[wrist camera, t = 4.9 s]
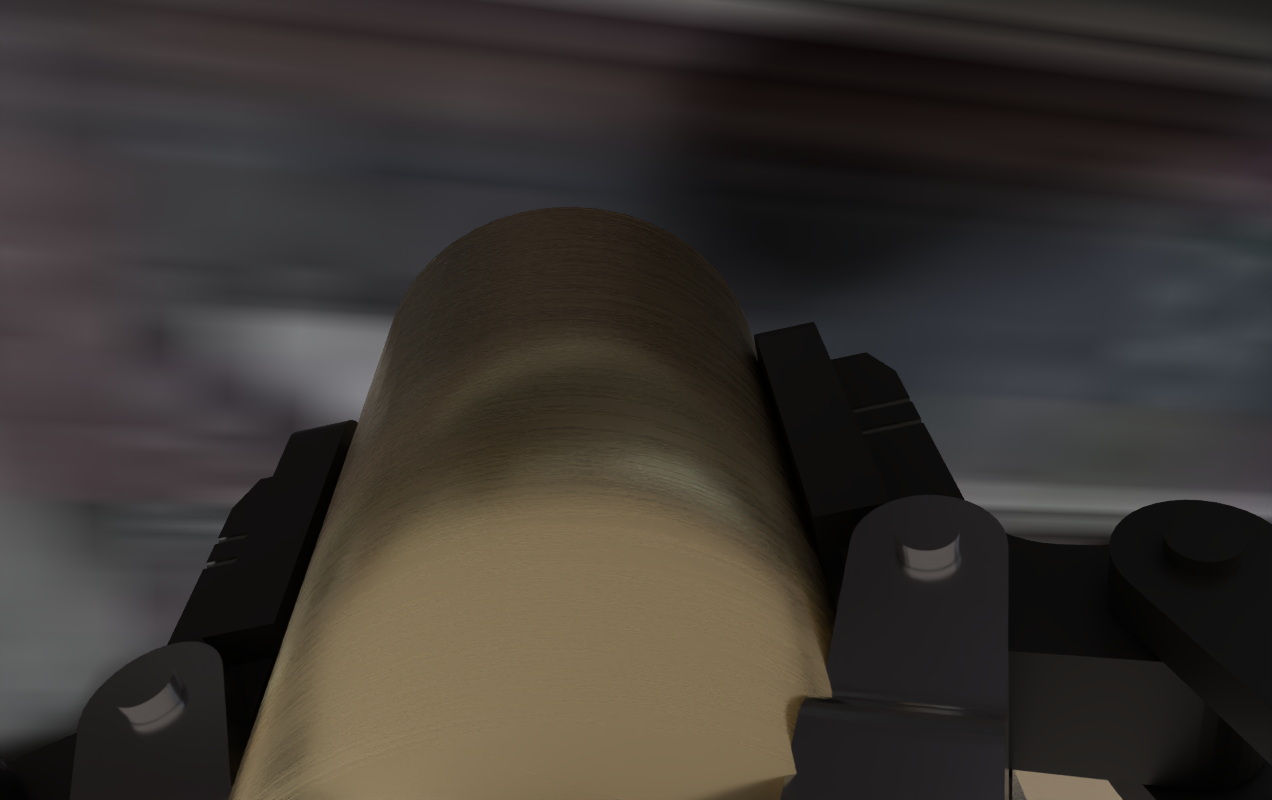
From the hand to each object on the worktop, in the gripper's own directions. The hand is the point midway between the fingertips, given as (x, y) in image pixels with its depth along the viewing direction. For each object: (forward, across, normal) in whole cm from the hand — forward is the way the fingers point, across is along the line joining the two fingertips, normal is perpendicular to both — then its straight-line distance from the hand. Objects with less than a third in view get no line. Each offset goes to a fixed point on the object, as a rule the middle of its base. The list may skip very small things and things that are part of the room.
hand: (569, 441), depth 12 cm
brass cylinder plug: (+1, 0, 0) cm, 1 cm away
